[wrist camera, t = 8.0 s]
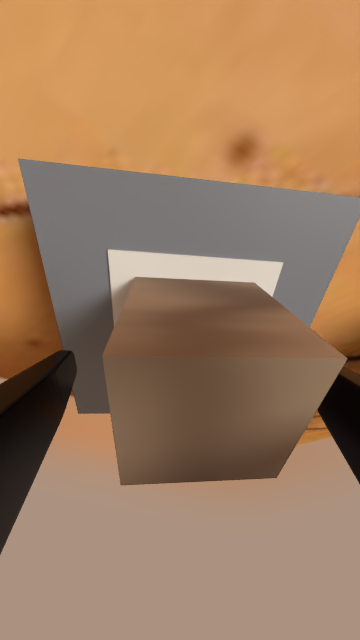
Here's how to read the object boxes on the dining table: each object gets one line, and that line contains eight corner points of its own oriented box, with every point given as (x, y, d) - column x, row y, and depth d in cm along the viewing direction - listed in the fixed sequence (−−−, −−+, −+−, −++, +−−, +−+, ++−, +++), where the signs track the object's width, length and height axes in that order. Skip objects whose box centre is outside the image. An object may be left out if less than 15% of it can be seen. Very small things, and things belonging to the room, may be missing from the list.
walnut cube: (254, 282, 9) (347, 358, 4) (231, 371, 11) (276, 478, 7) (135, 276, 8) (102, 355, 4) (138, 370, 11) (121, 485, 6)
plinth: (303, 201, 11) (370, 198, 7) (248, 369, 17) (271, 413, 13) (70, 176, 10) (16, 157, 6) (97, 367, 15) (77, 415, 12)
